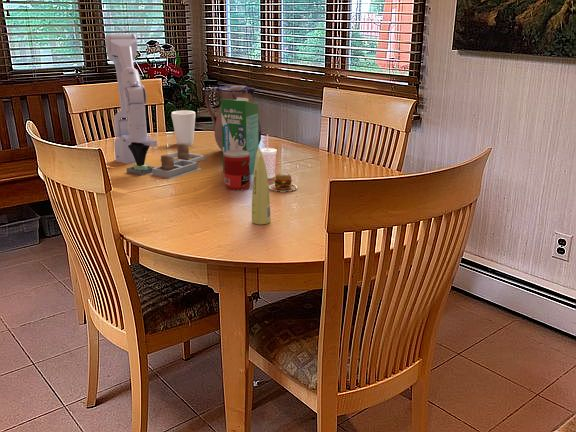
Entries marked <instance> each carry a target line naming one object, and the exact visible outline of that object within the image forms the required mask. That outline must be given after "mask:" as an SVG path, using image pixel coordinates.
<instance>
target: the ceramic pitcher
mask: <svg viewBox="0 0 576 432" xmlns="http://www.w3.org/2000/svg"><path fill="white" fill-rule="evenodd" d="M255 91H256V89H255V88H254V87H251V86H250V87H249V86H247V85H226V86H212V87H210V88H209V89H207V91H206V92H205V93H204V103H205V106H206V108H207V111H208V114H209V116H210V118H211V120H212V123H213V127H212V129H213V132H214V140H215V142H216V145H217V146H218V148H219V149H220V150H221V151H222V152H223V148H222V117H221V105H220V106H219V109H218V113H217V115H216V114H215V111H214V109H213V107H212V105H211V101H210V100H211V99H210V95H211V94H212V93H217V94H219V96H220V98H221V99H230V100H237V98H247V99H248V102H252V103H255V98H254V97H255ZM258 129H259V145H260V143H261V140H262V128H261V123H260V119H259V117H258Z"/></svg>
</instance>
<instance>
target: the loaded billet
mask: <svg viewBox="0 0 576 432" xmlns="http://www.w3.org/2000/svg"><path fill="white" fill-rule="evenodd" d="M174 158H175V157H174V156H173V155H171V153H168V154H166V153H165V154H161V155H160V161H161V163H160V164H161V166H162V170H166V171H169V170H173V169H174Z"/></svg>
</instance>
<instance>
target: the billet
mask: <svg viewBox="0 0 576 432" xmlns="http://www.w3.org/2000/svg"><path fill="white" fill-rule="evenodd" d="M176 148H177V149H176V150H177V151H176V152H177V154H178V156H177V159H182V160H190V158H189V153H190V151H189V148H190V147H189V145H188V143H178V144H177V143H176Z"/></svg>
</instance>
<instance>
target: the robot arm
mask: <svg viewBox="0 0 576 432" xmlns="http://www.w3.org/2000/svg"><path fill="white" fill-rule="evenodd" d="M104 37H105V38H104V39H105V41H104V43H105V49H106V56H107V59H108V60H109V61H111V62H113V64H114V66H115V71H116V79H117V80H116V81H117V88H118V95H119V96H118V97H119V104H120V105H119V106H120V110H119V111H118V112H116V113H115V115H114V117H113V120H114V121H113V126H114V133H115V136H116V138H115V140H114V143H113V145H114V146H113V147H114V155H115V159H114V160H113V161H114V162H118V163H123V164H127V165H130V164H131V165H132V164H137V166H142V165H144V164H146V163H145V161H146V156H147V153H148V150H149V149H150V147H151V148H153V147H157V146H158V143H157V140H156V139H153V138H151V137H148V131H147V120H146V119H147V116H146V104H147V91H146V88H145V86H144V84H143V83H142V80H141V76H140V73H139V71H138V69H136V68H135V66H134V65H135V64H134V61H135V59H136V56H137V52H138V41H137V40H138V39H137V36H136V34H135V33H123V34H122V33H112V34H111V33H107V34H105V36H104Z"/></svg>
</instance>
